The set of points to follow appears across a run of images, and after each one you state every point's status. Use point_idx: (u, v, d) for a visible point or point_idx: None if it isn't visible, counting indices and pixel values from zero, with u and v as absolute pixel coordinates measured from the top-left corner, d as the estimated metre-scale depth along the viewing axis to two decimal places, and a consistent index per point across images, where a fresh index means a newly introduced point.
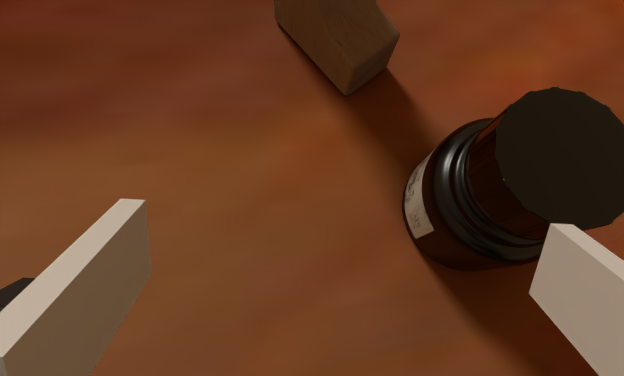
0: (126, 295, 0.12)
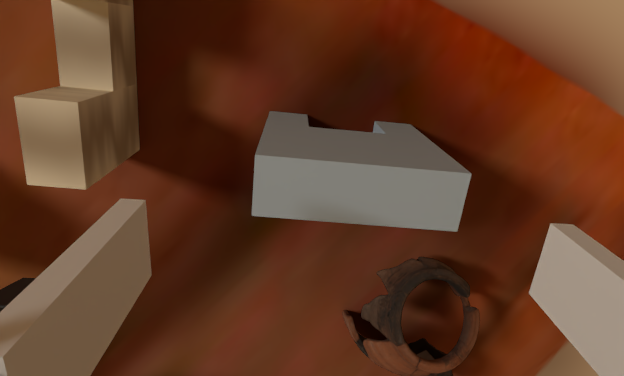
0: (125, 295, 0.12)
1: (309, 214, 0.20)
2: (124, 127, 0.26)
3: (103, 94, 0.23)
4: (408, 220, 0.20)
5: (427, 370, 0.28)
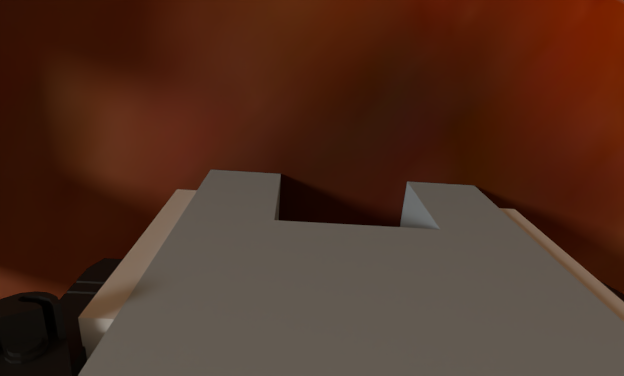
0: None
1: None
2: None
3: None
4: None
5: None
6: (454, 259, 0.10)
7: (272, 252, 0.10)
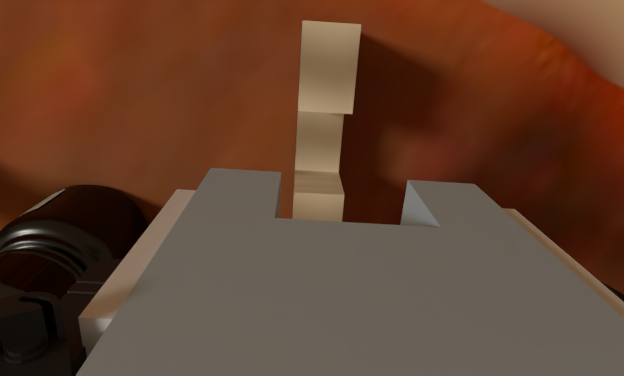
0: None
1: None
2: None
3: (339, 178, 0.27)
4: None
5: None
6: (455, 257, 0.10)
7: (272, 250, 0.10)
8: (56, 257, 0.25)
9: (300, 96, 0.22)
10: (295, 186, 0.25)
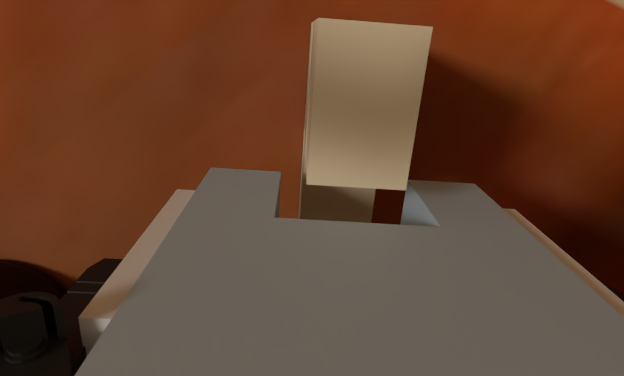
0: None
1: None
2: None
3: None
4: None
5: None
6: (455, 256, 0.10)
7: (272, 249, 0.10)
8: None
9: (311, 159, 0.12)
10: None
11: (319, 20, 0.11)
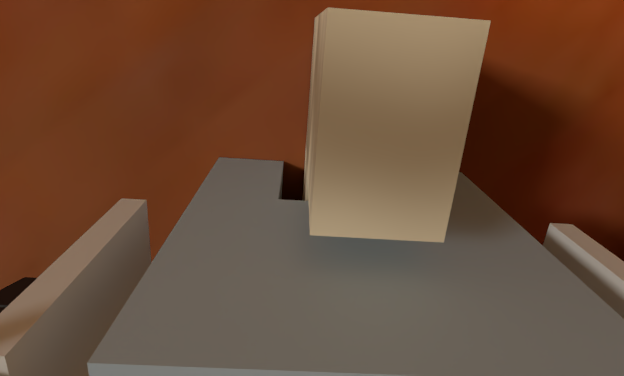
0: (127, 295, 0.12)
1: None
2: None
3: None
4: None
5: None
6: None
7: (277, 224, 0.11)
8: None
9: (316, 202, 0.09)
10: None
11: (329, 11, 0.07)
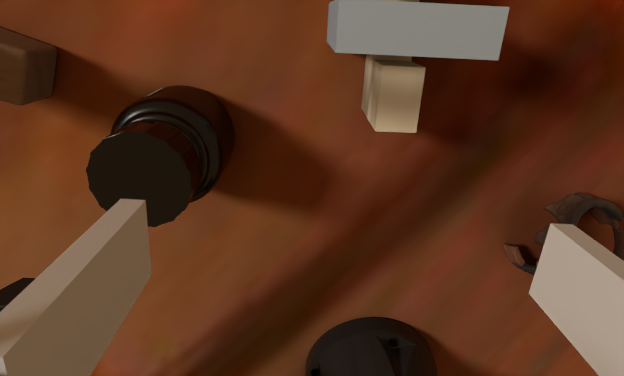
0: (125, 295, 0.12)
1: (380, 49, 0.25)
2: None
3: (414, 63, 0.31)
4: (459, 51, 0.25)
5: None
6: None
7: None
8: (177, 126, 0.29)
9: None
10: (381, 64, 0.29)
11: None
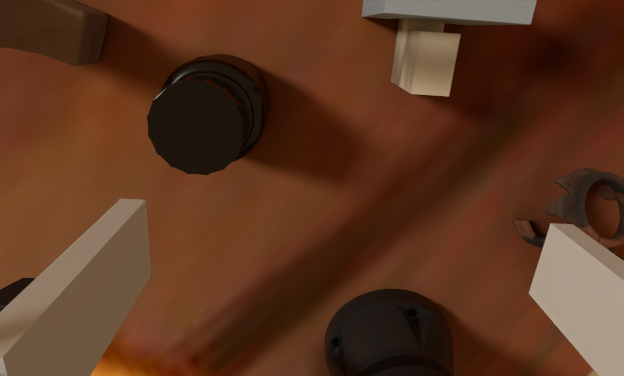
0: (125, 295, 0.12)
1: (425, 11, 0.27)
2: None
3: None
4: (495, 15, 0.28)
5: (605, 244, 0.39)
6: None
7: None
8: (229, 83, 0.31)
9: None
10: (418, 31, 0.32)
11: None
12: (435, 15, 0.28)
